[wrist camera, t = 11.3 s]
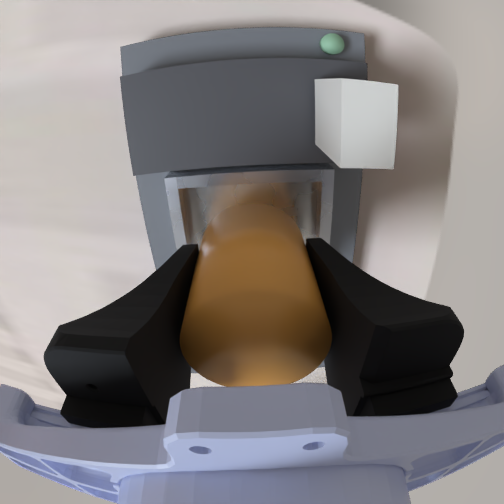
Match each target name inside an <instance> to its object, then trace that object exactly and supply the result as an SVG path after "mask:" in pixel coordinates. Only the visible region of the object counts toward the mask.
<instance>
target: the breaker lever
mask: <svg viewBox="0 0 504 504" xmlns="http://www.w3.org/2000/svg"><path fill="white" fill-rule="evenodd" d="M397 116H398V85H397V84H390V83H383V82H375V81H366V80H356V79H344V78H334V79H315V145H317V146H318V147H319V148H320V149H321V150H322V151H323V152H324V153H325V154H326V155H327V156H328V157H329V158H330V159H331V160H332V161H333V162H334V163H335V164H337V165H338V166H339V167H340V168H370V169H394V160H395V148H396V134H397Z"/></svg>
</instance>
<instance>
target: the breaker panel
mask: <svg viewBox="0 0 504 504" xmlns="http://www.w3.org/2000/svg"><path fill="white" fill-rule="evenodd" d="M120 48H121V63H122V75H123V76H121V77H120V81H121V91H122V100H123V109H124V117H125V125H126V132H127V139H128V146H129V152H130V158H131V164H132V170H133V176H136V179H137V185H138V190H139V195H140V200H141V205H142V210H143V215H144V220H145V225H146V229H147V234H148V238H149V243H150V247H151V251H152V255H153V259H154V263H155V267H156V270H157V269H158V268H159V267H161V266H162V265H163V264H164V263H165V262H166V261H167V260H168V259H169V258H170V257H171V256H172V255H173V254H174V253H175V252H176V251H177V249H176V244H175V239H174V233H173V228H172V222H171V217H170V211H169V205H168V199H167V193H166V186H165V180H164V178H165V177H166V176H167V174H168V173H169V172H170V171H180V170H190V169H201V168H214V167H228V166H245V165H265V164H299V163H329V164H330V165H331V166H332V167H333V169H334V191H333V208H332V222H331V235H330V246H332V247H333V248H334V249H335V250H336V251H338V252H339V253H340V254H341V255H342V256H344V257H345V258H346V259H348V260H349V261H350V262H351V263H352V262H353V255H354V247H355V240H356V231H357V223H358V214H359V204H360V194H361V182H362V169H363V168H340V167H339V166H338V165H337V164H335V163H334V162H333V161H332V160H331V159H330V158H329V157H328V156H327V155H326V154H325V153H324V152H323V151H322V150H321V149H320V148H319V147H318V146H317V145H315V79H334V78H344V79H356V80H366V81H367V63H365V43H364V34H363V33H356V32H348V31H339V30H328V29H314V28H290V27H262V28H238V29H224V30H213V31H204V32H196V33H188V34H182V35H175V36H169V37H164V38H158V39H153V40H148V41H144V42H139V43H135V44H130V45H126V46H122V47H120ZM319 367H325V364H324V360H323V362H322V363H321V364H320V365H319V366H318V367H317V368H319ZM191 373H197V372H196V371H195V370H194V369H193V368H192V367H191Z"/></svg>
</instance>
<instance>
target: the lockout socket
mask: <svg viewBox="0 0 504 504" xmlns="http://www.w3.org/2000/svg"><path fill="white" fill-rule="evenodd" d="M164 180H165V186H166V193H167V199H168V205H169V211H170V217H171V222H172V228H173V233H174V239H175V244H176V249H177V250H178V249H179V248H180V247H181V246H182V245H187V244H198V248H199V250H200V246H201V242H202V238H203V235H204V232H205V230H206V228H207V226H208V225H209V223H210V222H211V221H212V220H213V219H214V218H215V217H216V216H217V215H218V214H219V213H221V212H222V211H224V210H225V209H227V208H230V207H232V206H235V205H238V204H243V203H263V204H268V205H271V206H274V207H276V208H278V209H280V210H282V211H284V212H285V213H287V214H288V215H289V216H290V217H291V218H292V219H293V220H294V221H295V222H296V224H297V226H298V227H299V229H300V231H301V234H302V237H303V240H304V243H305V246H306V238H322V239H323V240H324V241H326V242H327V243H328V244H329V245H330V235H331V222H332V208H333V191H334V169H333V167H332V166H331V165H330V164H329V163H299V164H265V165H245V166H228V167H214V168H201V169H190V170H180V171H170V172H169V173H168V174H167V176H166V177H165V178H164Z"/></svg>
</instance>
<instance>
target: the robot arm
mask: <svg viewBox="0 0 504 504" xmlns="http://www.w3.org/2000/svg"><path fill="white" fill-rule="evenodd" d="M306 249H307V252H308V255H309V258H310V261H311V264H312V268H313V271H314V274H315V277H316V280H317V284H318V287H319V290H320V293H321V297H322V300H323V303H324V307H325V310H326V313H327V317H328V320H329V324H330V327H331V332H332V342H331V347H330V350H329V352H328V354H327V356H326V358H325V359H324V364H325V370H326V377H327V384H328V385H327V384H324V383H294V384H280V385H264V386H236V387H199V388H191V389H190V377H191V366H190V365H189V364H188V362H187V361H186V360H185V358H184V356H183V354H182V351H181V348H180V332H181V328H182V323H183V318H184V314H185V309H186V305H187V300H188V296H189V292H190V287H191V283H192V279H193V274H194V270H195V266H196V262H197V258H198V254H199V248H198V244H187V245H182V246H181V247H180V248H179V249H178V250H177V251H176V252H175V253H174V254H173V255H172V256H171V257H170V258H169V259H168V260H167V261H166V262H165V263H164V264H163V265H162V266H161V267H159V268H158V269H157V270H156V271H155V272H154V273H153V274H152V275H150V276H149V277H148V278H147V279H146V280H145V281H143V282H142V283H141V284H140V285H138V286H137V287H136V288H134V289H133V290H131V291H130V292H129V293H127V294H126V295H124V296H123V297H121V298H119V299H117V300H116V301H114V302H112V303H111V304H109V305H107V306H105V307H104V308H102V309H100V310H98V311H96V312H93V313H91V314H89V315H87V316H84V317H82V318H79V319H77V320H74V321H71V322H68V323H66V324H63V325H60V326H59V327H58V329H57V330H56V332H55V334H54V336H53V338H52V339H51V341H50V343H49V345H48V347H47V349H46V351H45V352H44V361H45V365H46V367H47V369H48V371H49V372H50V374H51V375H52V377H53V378H54V379H55V381H56V382H57V383H58V385H59V386H60V387H61V389H62V390H63V391H64V392H65V394H66V395H67V396H66V398H65V401H64V404H63V406H62V409H61V410H57V409H53V408H49V407H45V406H42V405H38V404H35V403H34V401H33V400H32V398H31V397H30V396H29V395H28V394H27V393H26V392H24V391H23V390H21V389H18V388H15V387H11V386H8V385H5V384H1V386H0V452H1V453H2V454H3V455H5V456H6V457H7V458H9V459H10V460H11V461H13V462H14V463H15V464H17V465H18V466H20V467H22V468H24V469H27V470H29V471H31V472H33V473H36V474H38V475H40V476H43V477H45V478H47V479H50V480H52V481H55V482H57V483H59V484H62V485H64V486H67V487H70V488H72V489H75V490H78V491H80V492H83V493H86V494H89V495H92V496H95V497H98V498H101V499H104V500H108V501H111V502H114V503H117V504H411V501H410V497H409V493H408V492H409V491H412V490H414V489H417V488H419V487H422V486H424V485H427V484H429V483H432V482H434V481H436V480H439V479H441V478H443V477H445V476H447V475H449V474H452V473H454V472H456V471H458V470H460V469H462V468H464V467H466V466H468V465H470V464H471V463H474V462H476V461H477V460H479V459H481V458H483V457H485V456H487V455H488V454H490V453H492V452H494V451H495V450H497V449H499V448H501V447H503V446H504V365H502V366H500V367H498V368H496V369H495V370H494V371H493V372H492V373H491V374H490V375H489V377H488V378H487V380H486V382H485V383H484V384H481V385H478V386H476V387H473V388H470V389H468V390H464V391H461V392H458V393H457V392H456V390H455V388H454V386H453V384H452V382H451V380H450V378H451V377H452V376H453V372H452V370H451V368H450V366H449V365H450V363H451V362H452V360H453V358H454V356H455V355H456V353H457V351H458V349H459V347H460V345H461V343H462V340H463V337H464V329H463V326H462V324H461V322H460V321H459V319H458V318H457V317H456V315H455V314H454V312H453V310H452V309H451V308H450V307H448V306H444V305H440V304H436V303H432V302H428V301H425V300H422V299H419V298H417V297H414V296H411V295H408V294H406V293H403V292H401V291H399V290H397V289H395V288H392V287H390V286H388V285H386V284H384V283H382V282H381V281H379V280H377V279H375V278H374V277H372V276H370V275H369V274H367V273H366V272H364V271H363V270H361V269H360V268H358V267H357V266H355V265H354V264H353V263H351V262H350V261H349V260H348V259H346V258H345V257H344V256H342V255H341V254H340V253H339V252H338V251H336V250H335V249H334V248H333V247H332V246H330V245H329V244H328V243H327V242H326V241H324V240H323V239H322V238H306Z"/></svg>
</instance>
